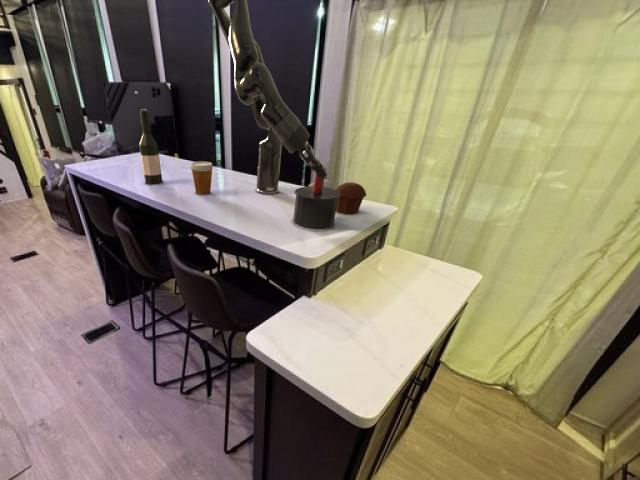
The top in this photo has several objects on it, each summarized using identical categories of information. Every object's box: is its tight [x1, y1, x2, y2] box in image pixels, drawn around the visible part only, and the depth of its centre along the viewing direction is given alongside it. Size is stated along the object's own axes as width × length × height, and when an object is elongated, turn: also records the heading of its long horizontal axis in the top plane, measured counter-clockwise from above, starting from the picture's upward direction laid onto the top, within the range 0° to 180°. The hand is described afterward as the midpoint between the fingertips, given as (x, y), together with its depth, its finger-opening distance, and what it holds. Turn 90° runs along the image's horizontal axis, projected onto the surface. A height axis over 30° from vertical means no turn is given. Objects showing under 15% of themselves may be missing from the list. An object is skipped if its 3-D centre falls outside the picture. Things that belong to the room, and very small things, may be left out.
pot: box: [292, 194, 338, 230], centre depth 105 cm, size 14×14×10 cm
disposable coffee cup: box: [189, 161, 214, 196], centre depth 132 cm, size 10×10×12 cm
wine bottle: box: [139, 108, 164, 186], centre depth 140 cm, size 8×8×30 cm
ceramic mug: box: [308, 179, 334, 189], centre depth 126 cm, size 11×8×8 cm
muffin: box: [334, 181, 367, 215], centre depth 116 cm, size 12×11×10 cm
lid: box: [294, 166, 340, 201], centre depth 100 cm, size 15×15×9 cm
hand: (323, 173), depth 98 cm, fingers open, 8 cm apart
